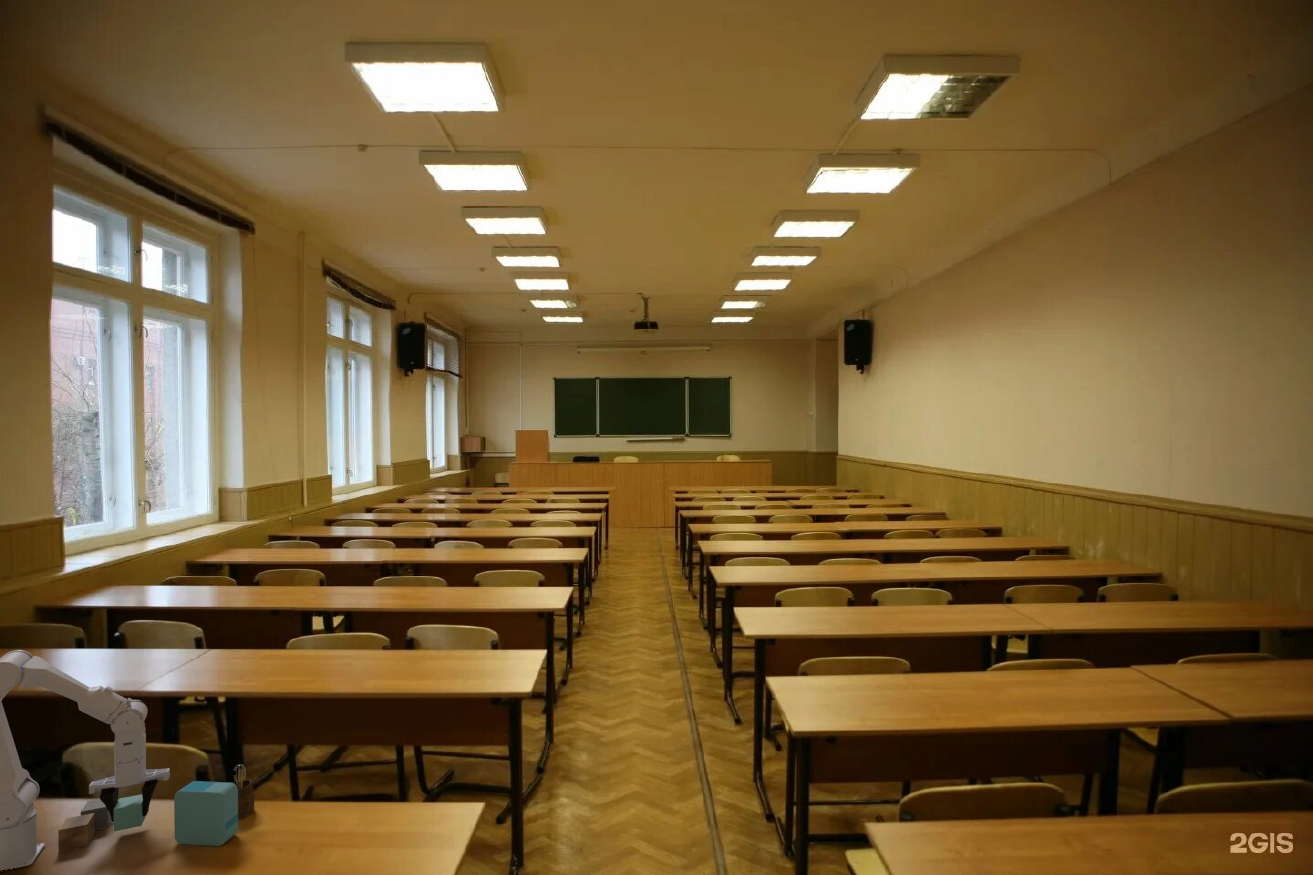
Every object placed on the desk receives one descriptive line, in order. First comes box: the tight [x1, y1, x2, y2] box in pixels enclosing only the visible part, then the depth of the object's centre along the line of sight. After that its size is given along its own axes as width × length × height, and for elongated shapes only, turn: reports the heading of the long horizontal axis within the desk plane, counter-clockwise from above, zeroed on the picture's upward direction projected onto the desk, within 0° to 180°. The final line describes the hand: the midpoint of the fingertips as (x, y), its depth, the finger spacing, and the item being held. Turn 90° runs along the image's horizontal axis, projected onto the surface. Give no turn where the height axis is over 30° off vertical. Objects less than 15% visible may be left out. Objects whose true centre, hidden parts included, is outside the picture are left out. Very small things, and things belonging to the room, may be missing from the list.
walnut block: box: [57, 813, 95, 853], centre depth 151 cm, size 5×5×5 cm
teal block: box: [113, 793, 147, 832], centre depth 155 cm, size 5×5×5 cm
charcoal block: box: [80, 798, 112, 831], centre depth 158 cm, size 5×5×5 cm
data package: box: [173, 780, 239, 847], centre depth 153 cm, size 12×4×12 cm, turn 85°
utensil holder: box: [233, 764, 255, 820], centre depth 163 cm, size 6×6×12 cm
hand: (130, 816), depth 155 cm, fingers closed on teal block, 5 cm apart
